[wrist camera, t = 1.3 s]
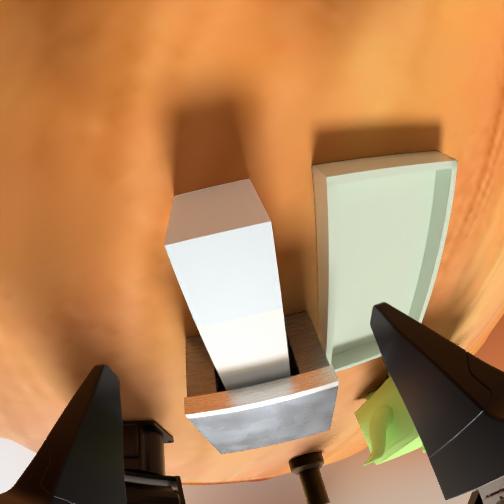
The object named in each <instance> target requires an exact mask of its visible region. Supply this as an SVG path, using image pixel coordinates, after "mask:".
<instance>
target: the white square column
mask: <svg viewBox="0 0 504 504" xmlns="http://www.w3.org/2000/svg"><path fill="white" fill-rule="evenodd" d="M165 248H166V251H167V253H168V256H169V259H170V262H171V264H172V267H173V269H174V272H175V275H176V277H177V280H178V282H179V285H180V287H181V290H182V292H183V295H184V297H185V300H186V302H187V304H188V307H189V309H190V312H191V314H192V316H193V319H194V321H195V323H196V326H197V328H198V330H199V333H200V335H201V337H202V339H203V342H204V344H205V346H206V348H207V350H208V353H209V355H210V357H211V359H212V361H213V363H214V366H215V368H216V370H217V372H218V374H219V376H220V378H221V380H222V382H223V384H224V386H225V388H226V390H227V391H229V390H234V389H239V388H244V387H249V386H254V385H258V384H263V383H267V382H271V381H276V380H280V379H284V378H288V377H291V375H290V366H289V357H288V348H287V339H286V331H285V323H284V315H283V306H282V299H281V291H280V283H279V275H278V268H277V260H276V253H275V245H274V238H273V231H272V224H271V220H270V218H269V216H268V214H267V212H266V210H265V208H264V206H263V204H262V202H261V200H260V198H259V196H258V194H257V192H256V190H255V188H254V186H253V184H252V182H251V180H250V178H249V179H244V180H239V181H235V182H230V183H225V184H221V185H217V186H212V187H208V188H204V189H199V190H195V191H191V192H187V193H183V194H179V195H175V196H174V198H173V203H172V208H171V213H170V218H169V224H168V229H167V235H166V240H165Z"/></svg>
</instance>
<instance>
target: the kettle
mask: <svg viewBox="0 0 504 504" xmlns="http://www.w3.org/2000/svg"><path fill="white" fill-rule="evenodd" d="M387 375H388V376H389V378H388V379H387V380H386V381H385V382H384V383H383V384H382V385H381V386H380V388H379V389H378V390H376V391H373V392H371V393H369V394H368V395H367V396H366V397H365V399H366V400H367V401H366V402H365V403H364V404H363V405H362V406H361V407H360V408H359V409H358V410H357V411H356V412H355V415H356V417H357V420H358V422H359V425H360V427H361V430H362V432H363V435H364V437H365V439H366V442H367V444H368V447H369V449H370V452H371V456H370V458H369V459H368V460H367V461H366V462H365V463H364V464H363V465H367V464H370V463H372V462H375V464H376V465H377V464H380V463H383V462H386V461H388V460H391V459H394V458H396V457H399V456H401V455H404V454H406V453H408V452H411V451H413V450H415V449H417V448H420V447H422V451H423V452H426V450H425V448H424V446H423V443H422V441H421V439H420V437H419V434H418V432H417V430H416V428H415V425H414V423H413V421H412V419H411V417H410V415H409V412H408V410H407V408H406V406H405V404H404V402H403V400H402V398H401V396H400V394H399V392H398V390H397V388H396V386H395V384H394V382H393V380H392V378H391V376H390V374H389V372H388V373H387Z"/></svg>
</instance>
